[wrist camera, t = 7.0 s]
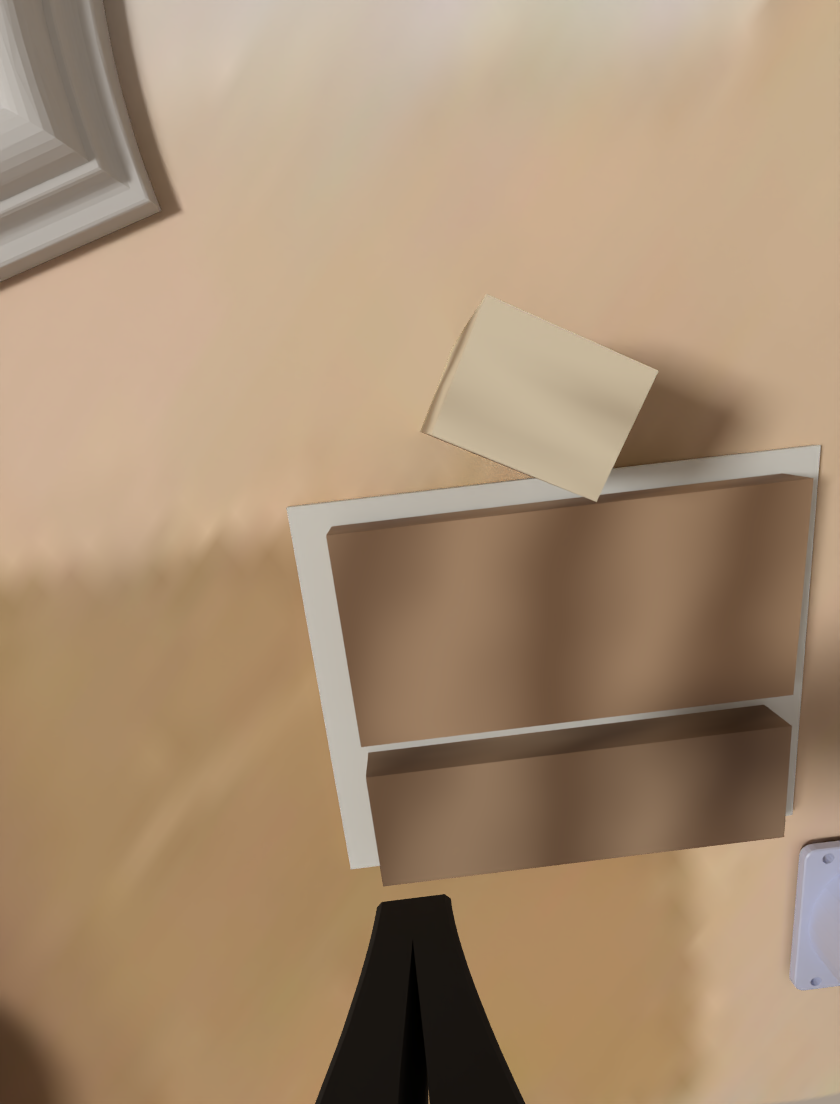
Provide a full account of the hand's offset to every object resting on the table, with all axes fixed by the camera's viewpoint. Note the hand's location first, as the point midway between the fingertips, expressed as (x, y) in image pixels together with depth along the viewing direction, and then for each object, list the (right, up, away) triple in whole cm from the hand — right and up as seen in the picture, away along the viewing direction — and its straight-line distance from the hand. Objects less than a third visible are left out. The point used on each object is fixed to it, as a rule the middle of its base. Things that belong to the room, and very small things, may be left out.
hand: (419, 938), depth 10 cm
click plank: (+5, +6, +9) cm, 12 cm away
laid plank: (+6, -2, +11) cm, 13 cm away
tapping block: (+2, +10, +5) cm, 11 cm away
